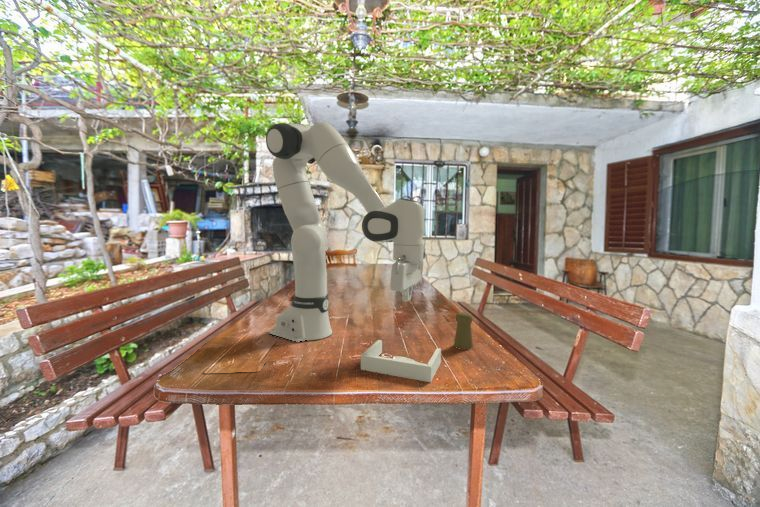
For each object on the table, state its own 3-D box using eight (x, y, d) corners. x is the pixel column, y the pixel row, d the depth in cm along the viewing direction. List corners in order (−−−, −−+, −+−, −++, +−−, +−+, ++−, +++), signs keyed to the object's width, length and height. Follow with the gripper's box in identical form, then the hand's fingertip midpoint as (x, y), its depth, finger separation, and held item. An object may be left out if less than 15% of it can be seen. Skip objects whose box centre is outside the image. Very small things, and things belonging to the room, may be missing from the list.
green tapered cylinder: (473, 350, 101) (474, 316, 100) (454, 349, 102) (454, 314, 101) (472, 343, 107) (473, 310, 106) (453, 342, 108) (454, 309, 107)
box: (360, 369, 88) (360, 355, 87) (378, 352, 100) (378, 339, 99) (430, 382, 81) (431, 366, 80) (440, 362, 93) (441, 348, 92)
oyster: (406, 378, 82) (406, 368, 82) (382, 364, 92) (382, 355, 92) (430, 373, 86) (430, 363, 86) (404, 360, 96) (405, 351, 96)
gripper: (407, 258, 85) (406, 310, 86) (426, 252, 104) (425, 295, 105) (385, 256, 87) (384, 307, 88) (407, 251, 106) (406, 293, 107)
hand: (406, 300), depth 97 cm, fingers closed
